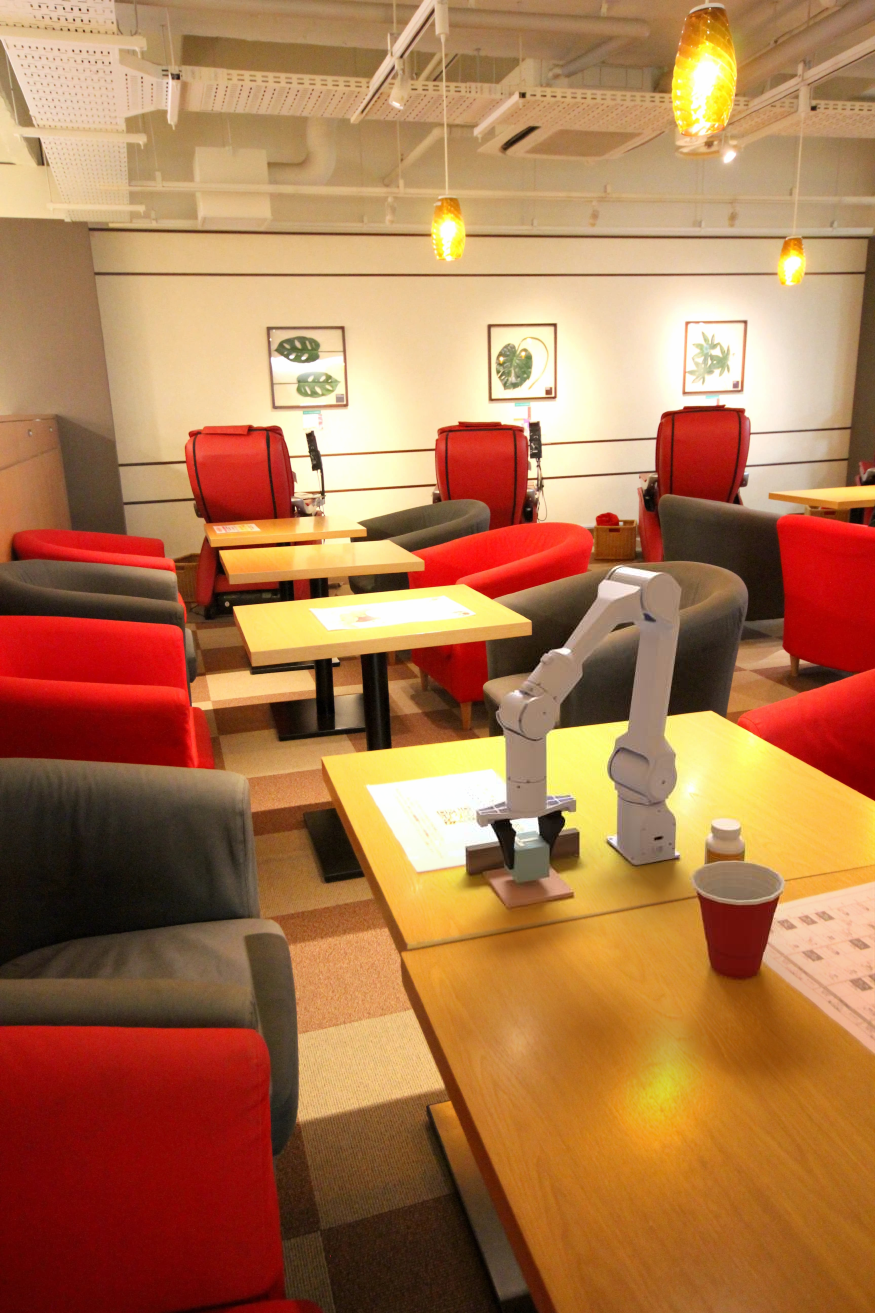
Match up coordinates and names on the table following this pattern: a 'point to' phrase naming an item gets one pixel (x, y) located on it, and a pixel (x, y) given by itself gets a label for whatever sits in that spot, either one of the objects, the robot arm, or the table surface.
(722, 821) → the supplement bottle
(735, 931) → the plastic cup
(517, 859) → the lettered cube
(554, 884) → the terracotta tile
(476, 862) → the walnut plank
